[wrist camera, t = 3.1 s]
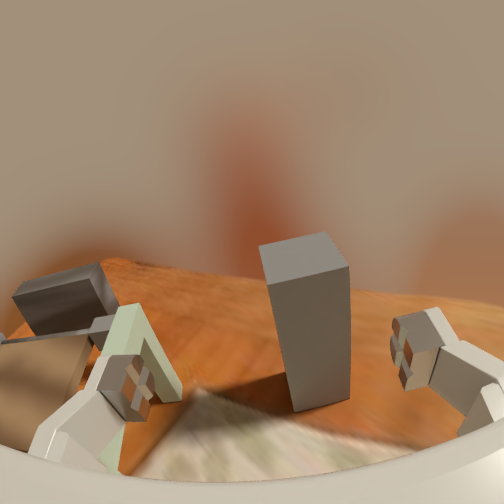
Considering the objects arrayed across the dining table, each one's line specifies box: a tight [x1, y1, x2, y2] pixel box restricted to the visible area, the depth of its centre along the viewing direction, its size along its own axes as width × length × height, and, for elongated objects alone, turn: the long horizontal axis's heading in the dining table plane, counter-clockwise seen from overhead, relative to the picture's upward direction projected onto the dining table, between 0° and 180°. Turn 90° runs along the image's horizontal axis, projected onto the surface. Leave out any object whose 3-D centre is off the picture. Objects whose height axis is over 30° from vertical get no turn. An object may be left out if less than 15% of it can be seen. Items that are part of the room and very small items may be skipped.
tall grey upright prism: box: [259, 232, 351, 413], centre depth 24 cm, size 5×5×14 cm
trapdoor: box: [0, 262, 120, 453], centre depth 22 cm, size 20×12×6 cm, turn 5°
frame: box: [0, 303, 183, 475], centre depth 21 cm, size 16×21×11 cm
